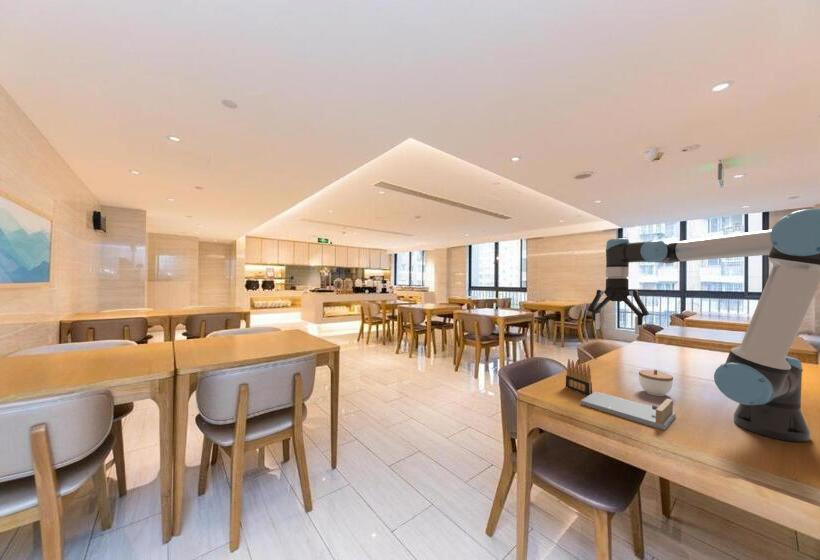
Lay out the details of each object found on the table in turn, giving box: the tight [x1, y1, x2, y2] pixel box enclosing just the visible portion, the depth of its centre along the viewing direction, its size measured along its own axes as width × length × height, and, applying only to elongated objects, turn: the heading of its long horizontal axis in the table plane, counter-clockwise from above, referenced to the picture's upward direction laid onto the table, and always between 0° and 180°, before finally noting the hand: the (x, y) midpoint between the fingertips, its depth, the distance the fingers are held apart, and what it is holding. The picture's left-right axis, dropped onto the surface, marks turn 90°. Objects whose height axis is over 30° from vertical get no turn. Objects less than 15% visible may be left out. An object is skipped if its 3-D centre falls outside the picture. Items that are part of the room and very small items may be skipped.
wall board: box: [580, 391, 676, 431], centre depth 107 cm, size 24×14×6 cm, turn 39°
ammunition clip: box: [565, 358, 593, 397], centre depth 125 cm, size 11×2×12 cm, turn 23°
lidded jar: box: [638, 369, 674, 397], centre depth 124 cm, size 11×11×9 cm
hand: (616, 331), depth 124 cm, fingers open, 13 cm apart
